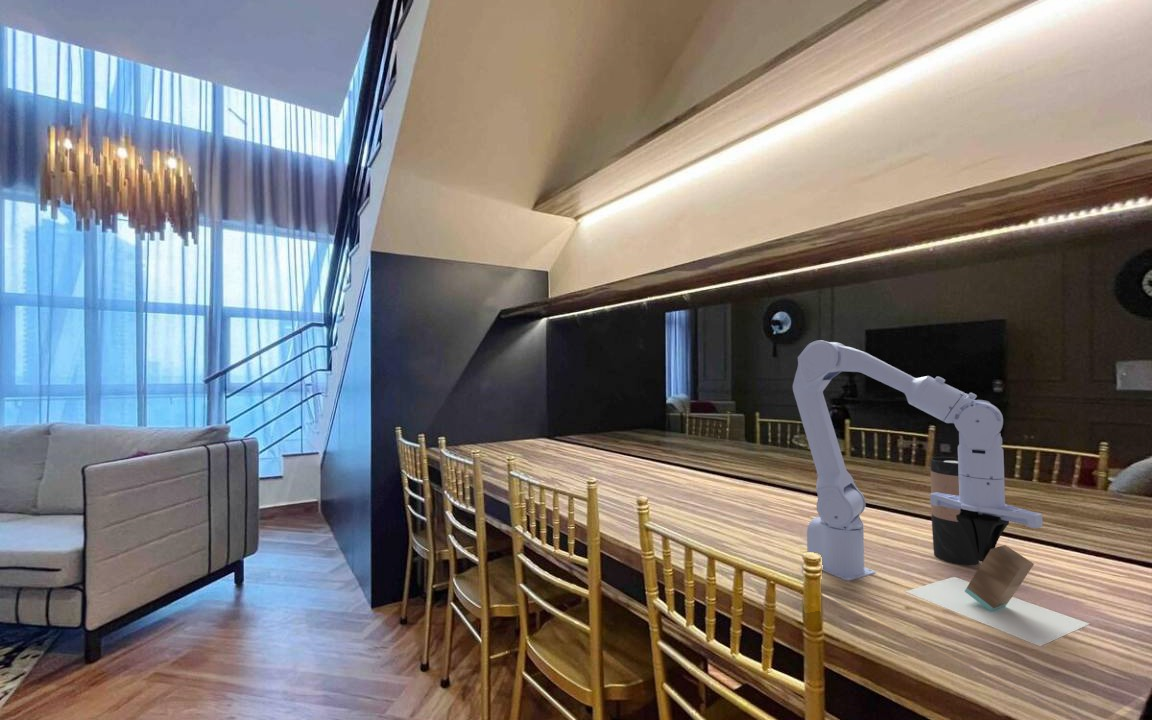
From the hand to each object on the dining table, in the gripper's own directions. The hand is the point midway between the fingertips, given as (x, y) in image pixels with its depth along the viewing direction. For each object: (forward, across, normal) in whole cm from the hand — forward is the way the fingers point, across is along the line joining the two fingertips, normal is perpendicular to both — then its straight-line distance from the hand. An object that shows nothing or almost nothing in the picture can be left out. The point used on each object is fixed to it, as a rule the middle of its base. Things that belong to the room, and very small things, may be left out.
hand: (983, 560), depth 78 cm
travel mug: (+8, -13, +17) cm, 23 cm away
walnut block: (+6, 0, 0) cm, 6 cm away
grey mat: (+8, +1, 0) cm, 8 cm away
